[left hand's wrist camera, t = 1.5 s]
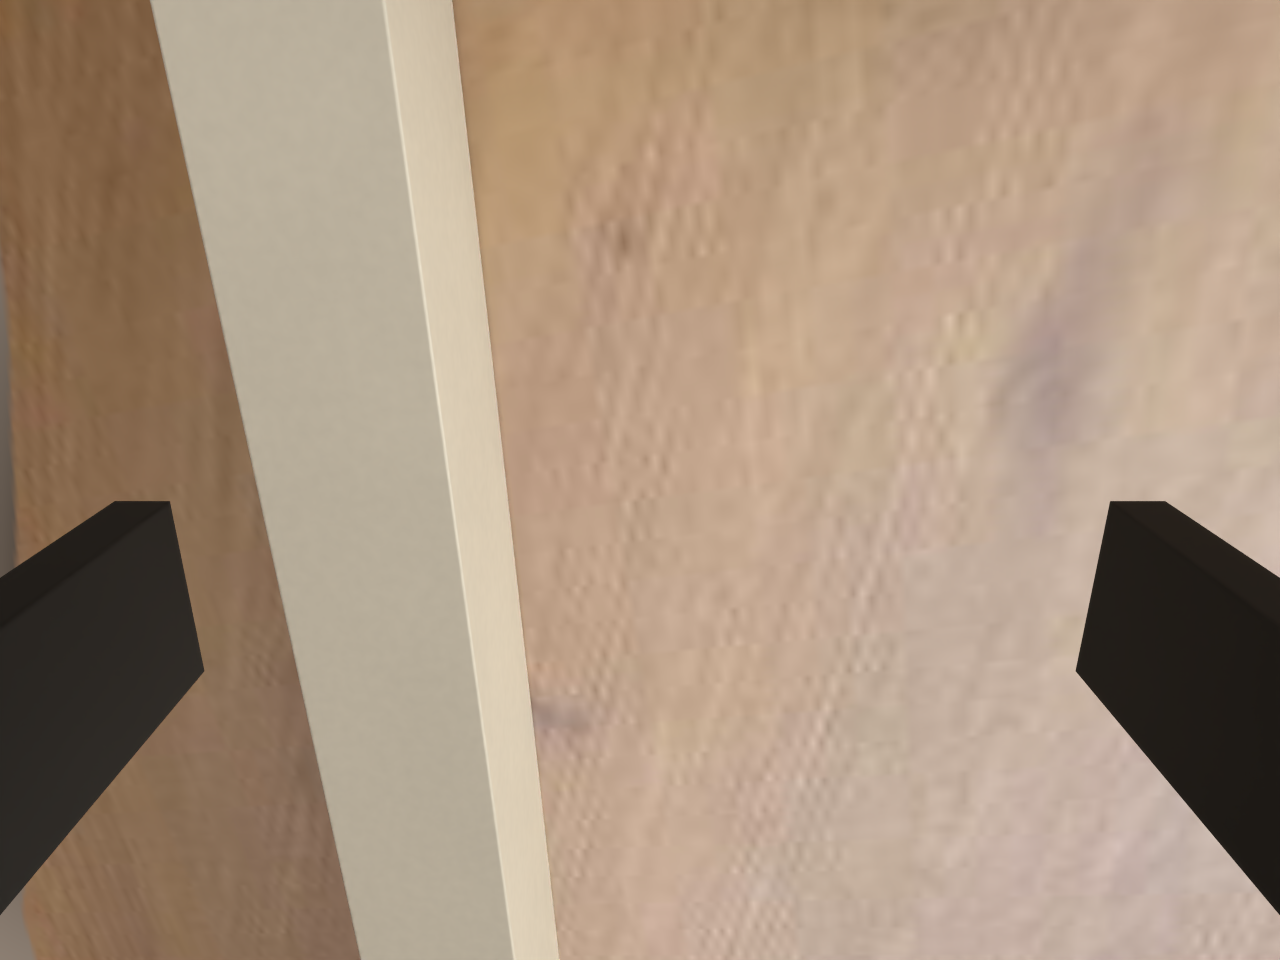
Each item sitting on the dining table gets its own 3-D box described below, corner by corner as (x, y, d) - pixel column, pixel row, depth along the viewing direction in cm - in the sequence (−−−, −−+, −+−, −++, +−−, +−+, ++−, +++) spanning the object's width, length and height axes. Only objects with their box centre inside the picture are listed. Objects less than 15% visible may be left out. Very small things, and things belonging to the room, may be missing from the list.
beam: (234, -265, 24) (47, -455, 17) (421, -277, 24) (320, -473, 17) (502, 1282, 49) (476, 1492, 41) (595, 1279, 49) (587, 1489, 41)
